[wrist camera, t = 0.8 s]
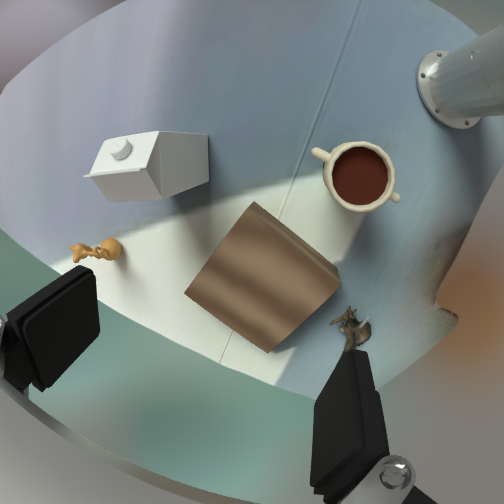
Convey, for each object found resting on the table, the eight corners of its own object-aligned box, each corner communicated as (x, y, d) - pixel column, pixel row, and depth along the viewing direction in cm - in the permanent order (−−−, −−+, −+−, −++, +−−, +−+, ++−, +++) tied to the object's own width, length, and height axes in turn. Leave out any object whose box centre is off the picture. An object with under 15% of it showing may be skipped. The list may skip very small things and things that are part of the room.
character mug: (298, 172, 39) (296, 182, 27) (321, 127, 36) (328, 117, 24) (365, 208, 39) (389, 235, 27) (388, 165, 36) (422, 175, 24)
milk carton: (209, 181, 41) (142, 209, 24) (167, 182, 43) (86, 210, 25) (208, 134, 39) (137, 129, 21) (165, 138, 40) (80, 141, 23)
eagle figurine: (316, 319, 45) (331, 363, 46) (340, 327, 38) (354, 376, 39) (351, 298, 47) (364, 341, 48) (378, 303, 40) (389, 351, 41)
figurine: (100, 251, 50) (59, 276, 39) (99, 221, 47) (55, 242, 36) (135, 260, 49) (95, 290, 38) (134, 228, 46) (91, 253, 35)
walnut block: (254, 201, 41) (245, 210, 36) (336, 267, 42) (340, 285, 37) (197, 276, 47) (183, 293, 42) (272, 331, 49) (267, 353, 43)
